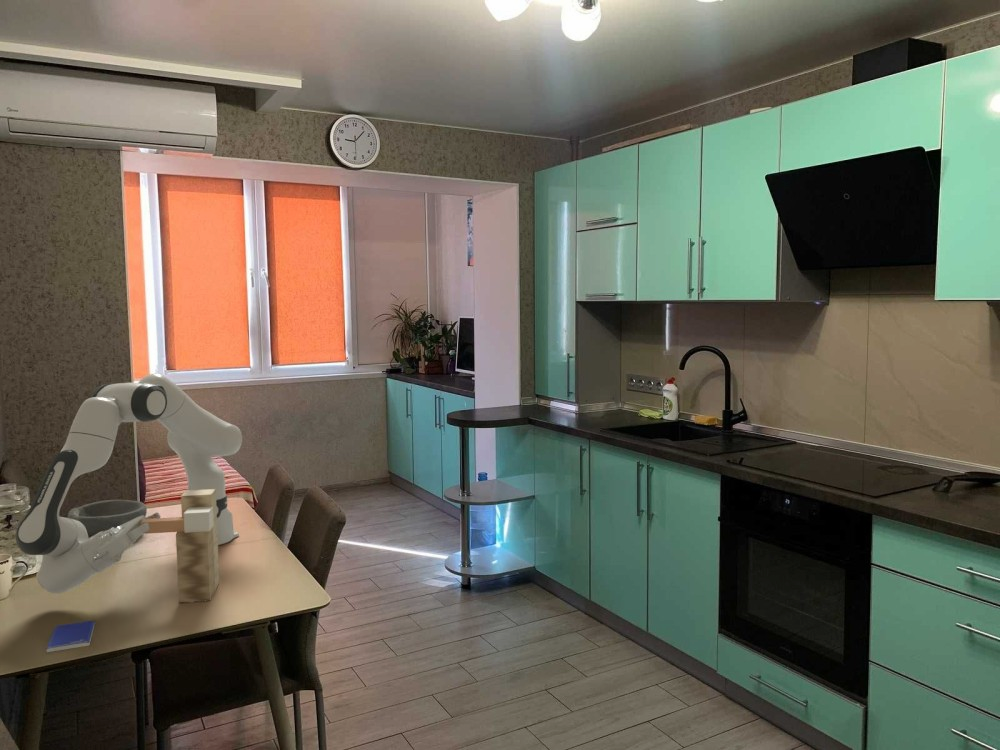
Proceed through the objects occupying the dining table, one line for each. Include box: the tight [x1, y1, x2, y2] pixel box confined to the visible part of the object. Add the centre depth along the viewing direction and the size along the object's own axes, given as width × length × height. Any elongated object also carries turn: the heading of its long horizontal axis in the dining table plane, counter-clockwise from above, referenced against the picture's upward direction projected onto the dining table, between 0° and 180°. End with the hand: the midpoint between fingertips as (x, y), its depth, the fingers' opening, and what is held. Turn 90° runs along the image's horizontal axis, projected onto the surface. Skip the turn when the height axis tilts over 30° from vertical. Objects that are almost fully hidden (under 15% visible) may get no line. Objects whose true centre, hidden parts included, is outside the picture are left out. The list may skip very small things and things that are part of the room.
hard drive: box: [46, 620, 96, 653], centre depth 170 cm, size 2×8×12 cm
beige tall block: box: [175, 489, 220, 604], centre depth 195 cm, size 8×13×26 cm, turn 11°
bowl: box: [66, 499, 148, 538], centre depth 246 cm, size 23×22×10 cm
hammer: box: [141, 507, 214, 535], centre depth 191 cm, size 16×6×5 cm, turn 100°
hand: (153, 520), depth 189 cm, fingers open, 8 cm apart
